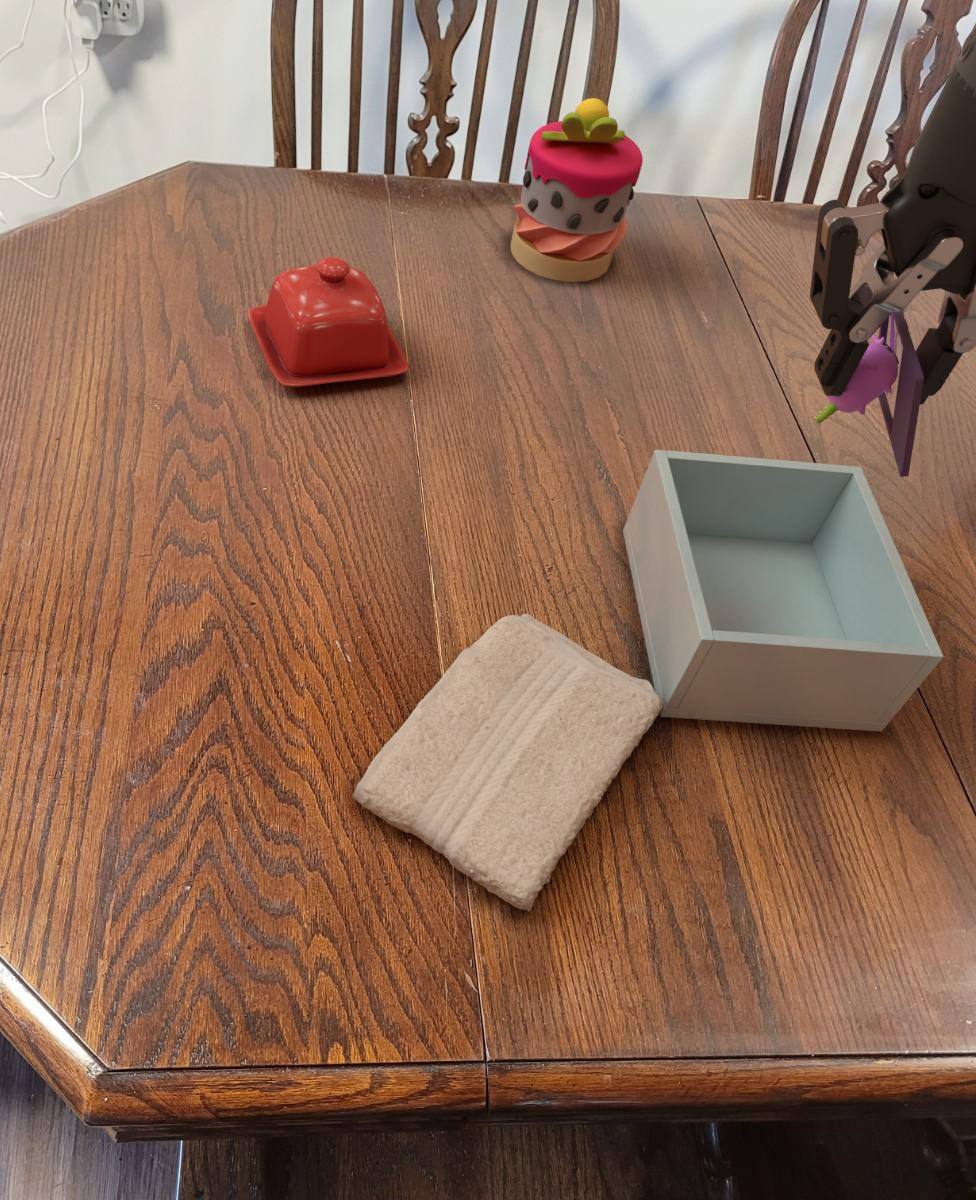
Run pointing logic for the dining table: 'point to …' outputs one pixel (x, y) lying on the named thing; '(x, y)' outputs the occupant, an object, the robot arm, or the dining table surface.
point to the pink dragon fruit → (887, 388)
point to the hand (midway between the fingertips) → (869, 390)
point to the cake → (575, 195)
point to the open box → (773, 594)
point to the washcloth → (510, 755)
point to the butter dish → (326, 327)
